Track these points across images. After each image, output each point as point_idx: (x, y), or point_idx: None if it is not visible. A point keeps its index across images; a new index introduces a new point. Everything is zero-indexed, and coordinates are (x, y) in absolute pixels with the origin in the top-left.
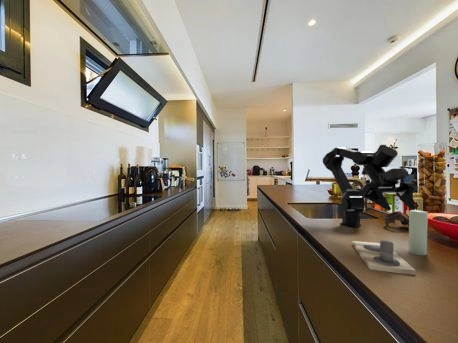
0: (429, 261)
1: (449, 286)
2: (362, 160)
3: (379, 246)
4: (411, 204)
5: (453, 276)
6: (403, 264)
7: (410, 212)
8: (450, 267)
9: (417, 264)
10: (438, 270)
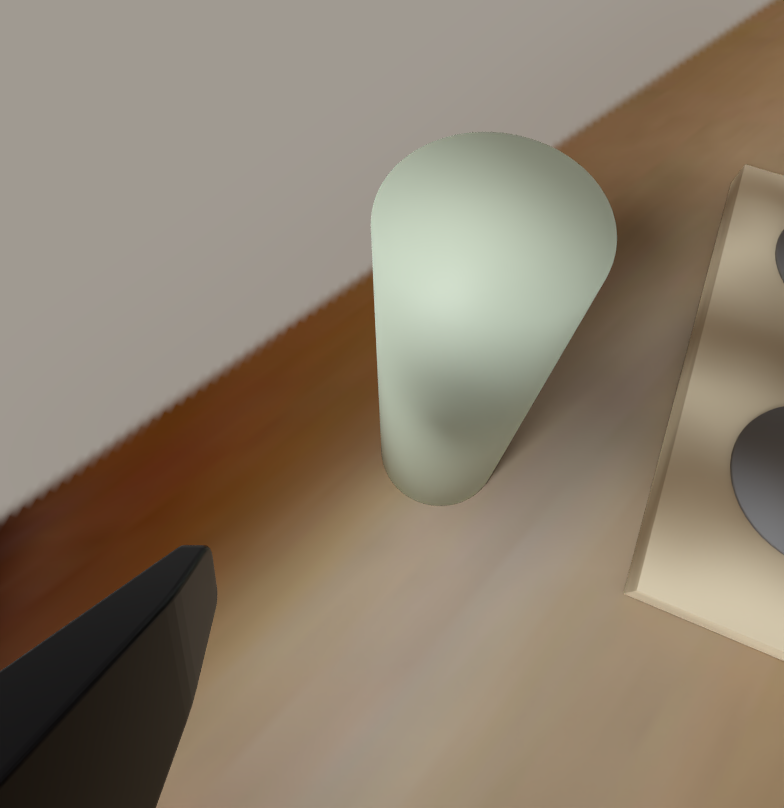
0: None
1: (650, 95)
2: None
3: (756, 509)
4: (167, 637)
5: None
6: (765, 222)
7: (610, 263)
8: None
9: (614, 281)
10: None
